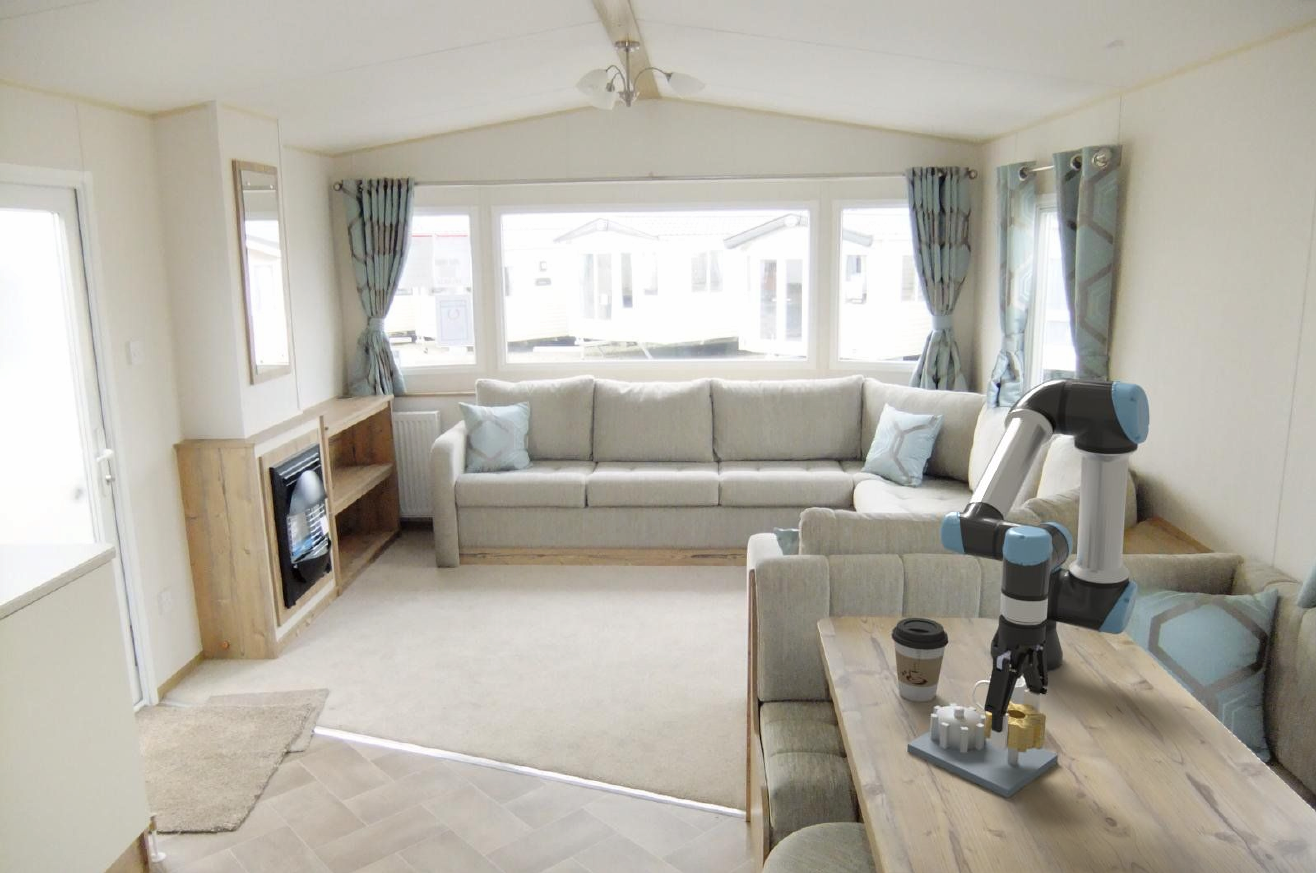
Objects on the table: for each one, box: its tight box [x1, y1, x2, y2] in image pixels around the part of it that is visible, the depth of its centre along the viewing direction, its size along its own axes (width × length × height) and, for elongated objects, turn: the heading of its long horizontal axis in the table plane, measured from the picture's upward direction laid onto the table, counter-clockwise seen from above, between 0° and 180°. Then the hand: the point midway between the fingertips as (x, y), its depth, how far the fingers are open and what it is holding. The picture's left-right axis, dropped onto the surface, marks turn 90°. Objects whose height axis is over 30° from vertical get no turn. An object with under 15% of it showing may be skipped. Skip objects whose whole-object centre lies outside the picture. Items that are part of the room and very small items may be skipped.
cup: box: [971, 675, 1027, 714], centre depth 184 cm, size 7×10×8 cm
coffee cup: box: [890, 617, 949, 703], centre depth 193 cm, size 11×11×15 cm
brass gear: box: [984, 701, 1047, 753], centre depth 164 cm, size 10×10×4 cm
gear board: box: [907, 703, 1059, 799], centre depth 169 cm, size 17×20×8 cm
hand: (1014, 736), depth 164 cm, fingers closed on brass gear, 10 cm apart
